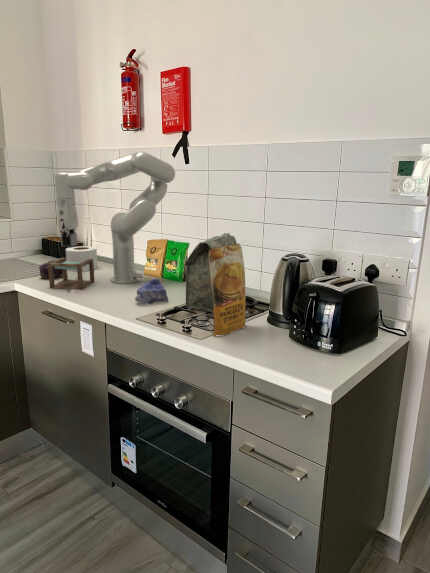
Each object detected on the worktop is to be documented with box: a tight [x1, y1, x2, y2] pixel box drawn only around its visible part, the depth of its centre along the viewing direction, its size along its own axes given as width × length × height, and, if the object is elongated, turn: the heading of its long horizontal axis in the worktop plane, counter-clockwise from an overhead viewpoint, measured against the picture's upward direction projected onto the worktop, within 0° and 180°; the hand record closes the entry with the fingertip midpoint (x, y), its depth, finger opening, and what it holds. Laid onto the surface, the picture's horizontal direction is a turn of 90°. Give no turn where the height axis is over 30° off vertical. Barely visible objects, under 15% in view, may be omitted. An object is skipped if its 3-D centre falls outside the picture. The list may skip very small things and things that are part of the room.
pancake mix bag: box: [208, 243, 246, 337], centre depth 141 cm, size 7×19×28 cm, turn 138°
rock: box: [38, 258, 63, 280], centre depth 210 cm, size 12×9×10 cm
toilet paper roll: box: [65, 245, 99, 272], centre depth 230 cm, size 16×15×11 cm
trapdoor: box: [55, 260, 88, 270], centre depth 195 cm, size 10×11×1 cm
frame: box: [48, 257, 95, 291], centre depth 196 cm, size 14×14×11 cm
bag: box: [184, 232, 238, 314], centre depth 169 cm, size 22×16×27 cm
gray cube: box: [60, 232, 78, 247], centre depth 191 cm, size 5×5×5 cm
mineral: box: [134, 278, 169, 305], centre depth 174 cm, size 14×10×10 cm
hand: (69, 244), depth 192 cm, fingers closed on gray cube, 5 cm apart
